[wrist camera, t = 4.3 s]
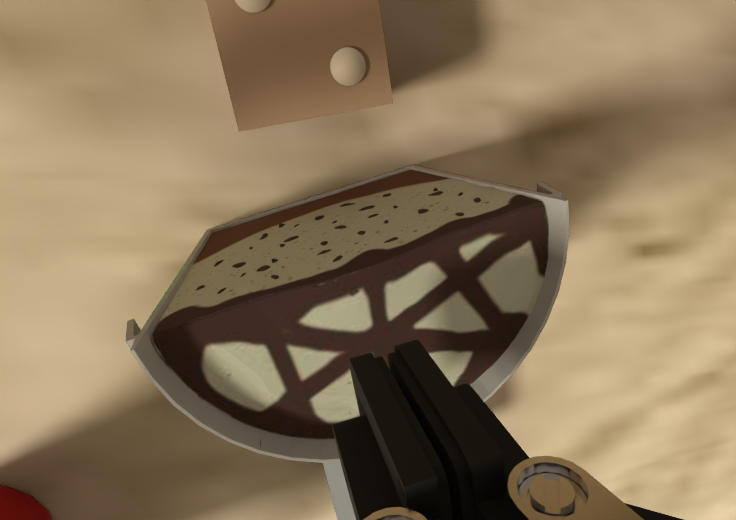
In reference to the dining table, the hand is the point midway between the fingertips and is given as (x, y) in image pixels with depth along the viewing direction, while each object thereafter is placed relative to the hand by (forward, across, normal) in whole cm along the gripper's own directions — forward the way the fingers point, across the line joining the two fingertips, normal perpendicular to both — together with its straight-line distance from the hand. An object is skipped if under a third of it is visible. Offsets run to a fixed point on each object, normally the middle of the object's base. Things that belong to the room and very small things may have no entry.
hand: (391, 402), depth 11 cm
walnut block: (+12, -1, -9) cm, 15 cm away
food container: (+12, -1, 0) cm, 12 cm away
